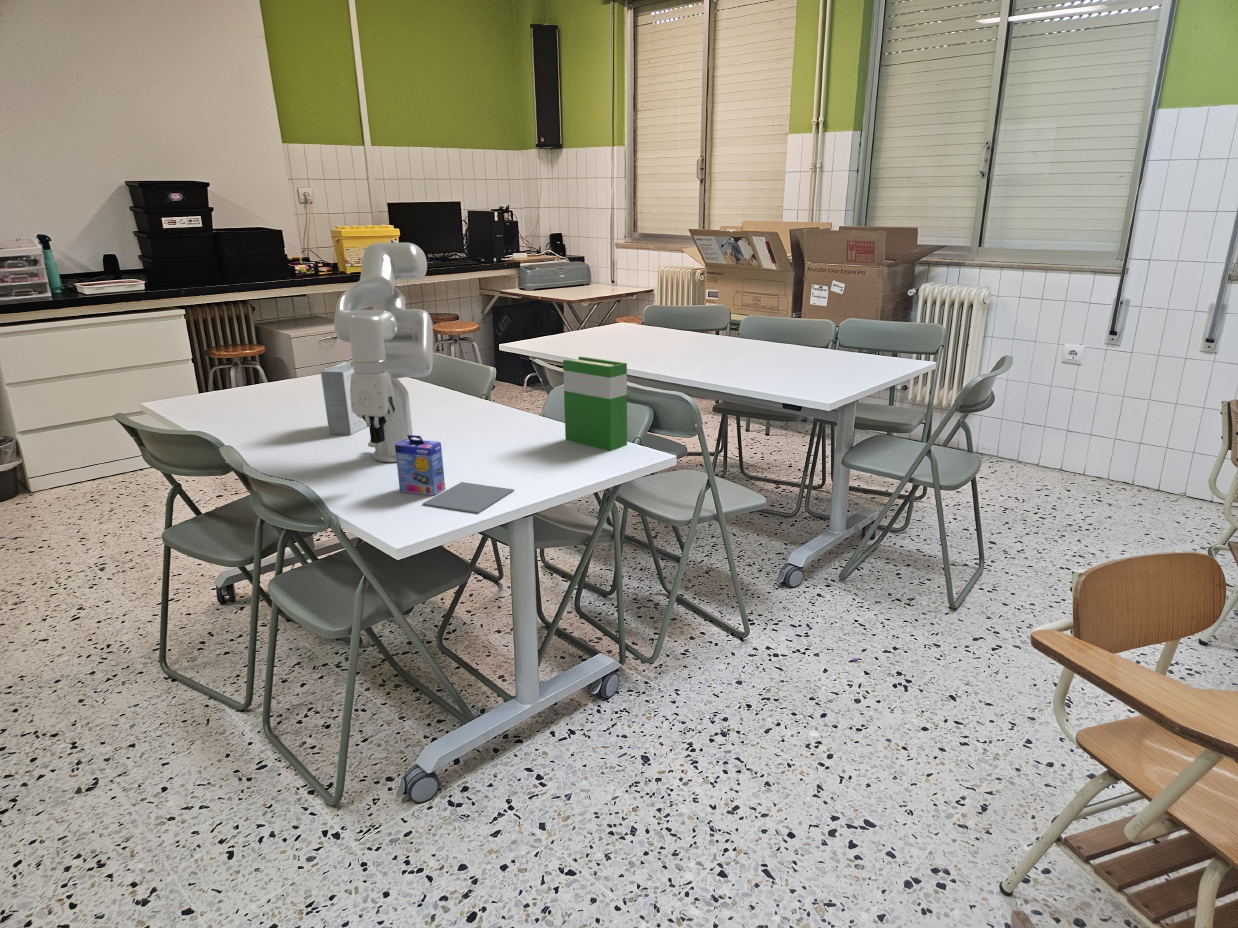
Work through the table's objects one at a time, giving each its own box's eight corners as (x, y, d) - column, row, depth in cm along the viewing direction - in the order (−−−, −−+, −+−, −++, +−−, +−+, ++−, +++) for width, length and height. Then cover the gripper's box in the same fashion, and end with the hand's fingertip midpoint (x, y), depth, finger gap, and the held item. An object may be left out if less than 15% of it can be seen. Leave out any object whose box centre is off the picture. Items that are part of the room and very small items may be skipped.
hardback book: (565, 440, 226) (563, 360, 219) (582, 434, 231) (580, 356, 224) (610, 450, 215) (609, 367, 208) (627, 445, 221) (626, 363, 213)
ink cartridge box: (398, 492, 183) (392, 435, 179) (410, 485, 189) (405, 429, 184) (434, 496, 181) (429, 438, 176) (446, 489, 186) (441, 432, 181)
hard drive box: (354, 421, 248) (347, 361, 242) (376, 422, 247) (369, 362, 241) (327, 434, 234) (319, 370, 228) (350, 435, 232) (342, 371, 226)
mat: (422, 504, 175) (422, 503, 175) (461, 483, 189) (461, 481, 189) (478, 513, 170) (478, 512, 170) (514, 491, 184) (514, 489, 184)
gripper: (334, 368, 179) (343, 442, 185) (385, 372, 174) (392, 449, 179) (356, 362, 186) (364, 435, 191) (405, 366, 180) (412, 441, 186)
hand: (378, 441), depth 185 cm, fingers closed
